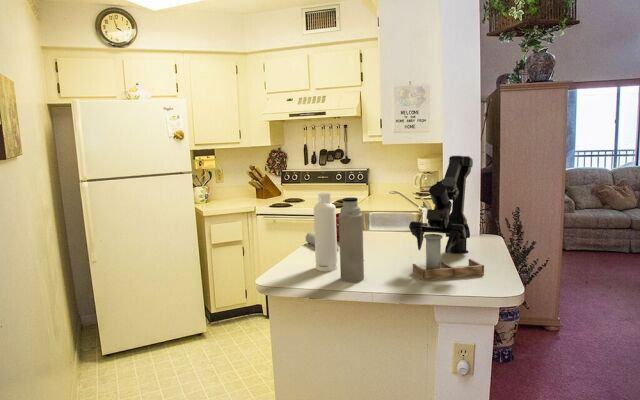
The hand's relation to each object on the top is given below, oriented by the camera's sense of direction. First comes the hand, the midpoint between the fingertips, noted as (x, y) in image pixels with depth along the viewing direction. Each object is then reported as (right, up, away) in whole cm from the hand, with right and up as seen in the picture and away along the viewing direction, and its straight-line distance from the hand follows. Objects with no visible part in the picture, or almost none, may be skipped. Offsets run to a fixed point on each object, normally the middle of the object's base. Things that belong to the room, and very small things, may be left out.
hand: (432, 251), depth 150 cm
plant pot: (-26, -2, +60) cm, 66 cm away
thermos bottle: (-27, -10, +2) cm, 29 cm away
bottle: (-35, -8, +15) cm, 39 cm away
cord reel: (+1, -8, +2) cm, 8 cm away
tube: (-37, -4, +45) cm, 59 cm away
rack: (+6, -8, +3) cm, 11 cm away
